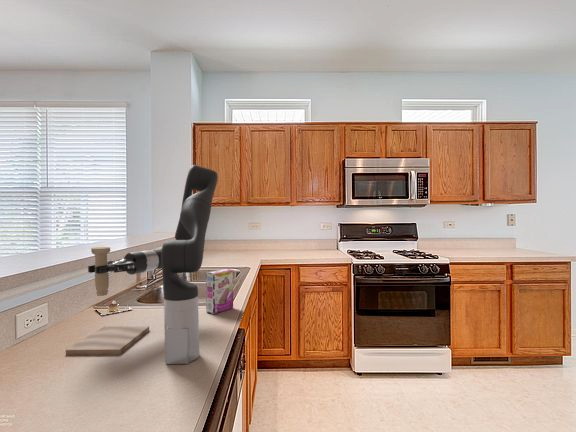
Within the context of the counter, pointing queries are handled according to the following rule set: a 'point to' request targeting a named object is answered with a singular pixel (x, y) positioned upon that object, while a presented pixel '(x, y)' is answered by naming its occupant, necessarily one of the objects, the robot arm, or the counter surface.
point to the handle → (101, 278)
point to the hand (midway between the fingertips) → (92, 269)
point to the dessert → (114, 307)
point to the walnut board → (108, 341)
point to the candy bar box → (219, 291)
